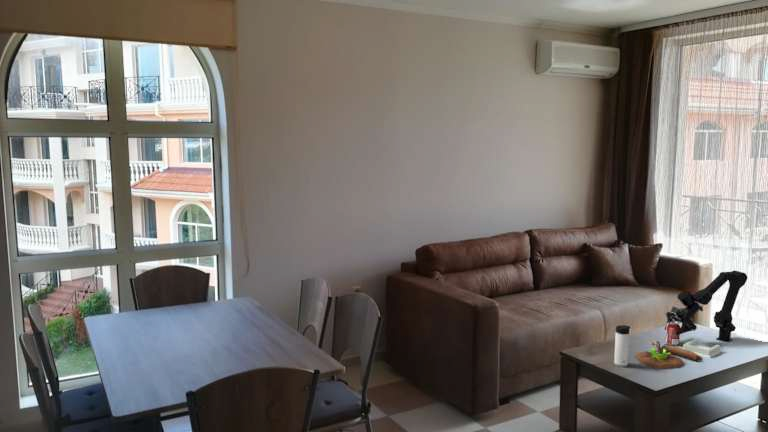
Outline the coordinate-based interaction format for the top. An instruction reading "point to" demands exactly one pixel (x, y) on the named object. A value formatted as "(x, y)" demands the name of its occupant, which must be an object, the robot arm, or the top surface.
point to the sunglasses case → (682, 353)
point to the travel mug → (621, 346)
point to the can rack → (701, 349)
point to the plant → (659, 358)
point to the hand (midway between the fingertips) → (670, 332)
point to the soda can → (672, 333)
